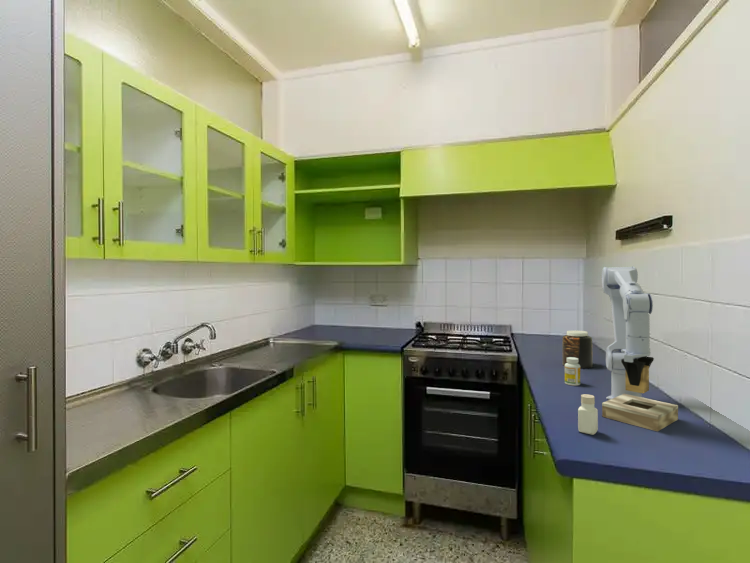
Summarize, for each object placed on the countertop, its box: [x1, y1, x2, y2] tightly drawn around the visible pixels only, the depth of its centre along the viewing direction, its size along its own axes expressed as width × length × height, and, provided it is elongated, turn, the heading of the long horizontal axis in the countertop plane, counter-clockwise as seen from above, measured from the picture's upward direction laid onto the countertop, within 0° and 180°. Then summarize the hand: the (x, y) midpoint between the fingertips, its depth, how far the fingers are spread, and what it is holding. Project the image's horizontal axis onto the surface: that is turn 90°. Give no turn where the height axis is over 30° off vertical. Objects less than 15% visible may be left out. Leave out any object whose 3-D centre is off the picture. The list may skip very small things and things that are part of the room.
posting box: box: [601, 394, 679, 432], centre depth 116 cm, size 14×14×4 cm
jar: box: [561, 330, 594, 369], centre depth 179 cm, size 12×12×15 cm
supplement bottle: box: [564, 357, 581, 387], centre depth 151 cm, size 5×5×10 cm
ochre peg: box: [625, 365, 650, 394], centre depth 116 cm, size 4×4×7 cm
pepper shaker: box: [577, 393, 599, 435], centre depth 107 cm, size 4×4×10 cm
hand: (637, 383), depth 116 cm, fingers closed on ochre peg, 4 cm apart
